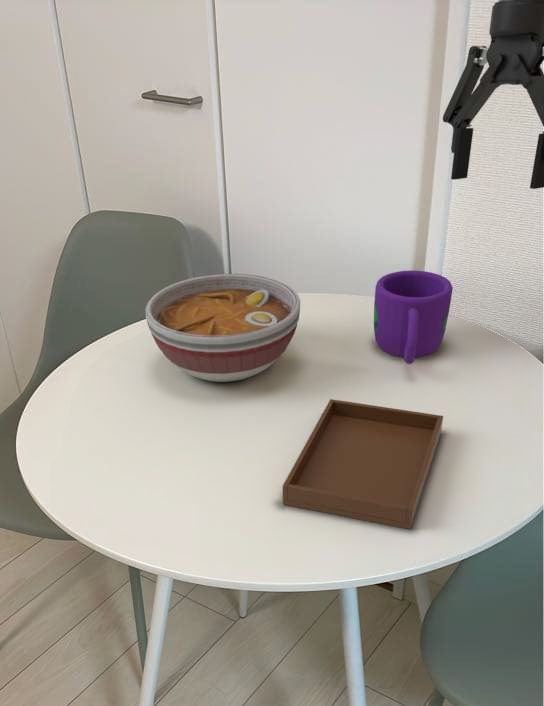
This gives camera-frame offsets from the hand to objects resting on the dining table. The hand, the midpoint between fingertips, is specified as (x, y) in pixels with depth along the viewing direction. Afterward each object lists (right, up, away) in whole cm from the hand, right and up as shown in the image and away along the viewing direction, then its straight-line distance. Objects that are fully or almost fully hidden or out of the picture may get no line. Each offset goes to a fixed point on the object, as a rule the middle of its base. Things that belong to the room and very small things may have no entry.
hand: (496, 183), depth 107 cm
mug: (-10, -22, +10) cm, 26 cm away
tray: (-21, -42, -12) cm, 48 cm away
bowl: (-39, -24, +10) cm, 46 cm away
